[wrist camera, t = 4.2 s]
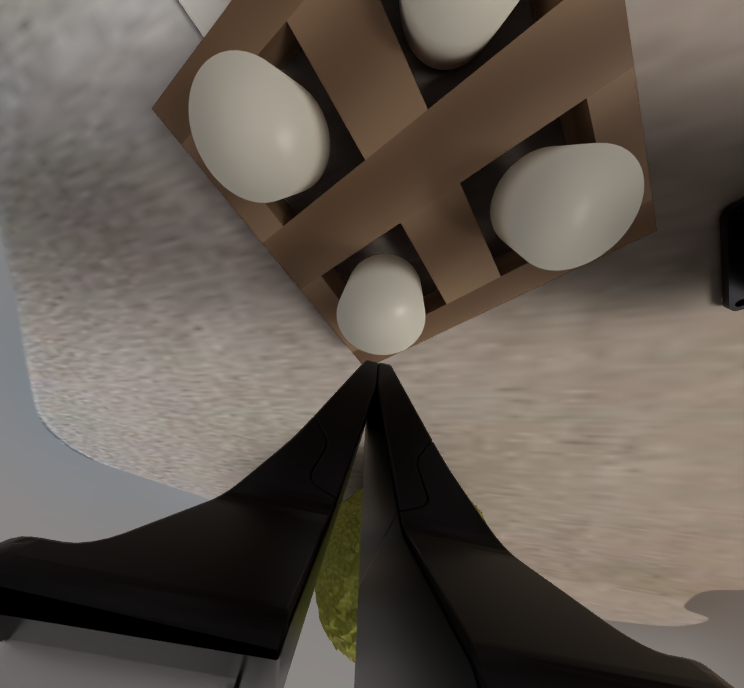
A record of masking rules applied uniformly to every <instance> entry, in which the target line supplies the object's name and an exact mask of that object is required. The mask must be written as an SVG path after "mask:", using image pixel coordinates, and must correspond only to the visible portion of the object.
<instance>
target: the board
mask: <svg viewBox="0 0 744 688" xmlns="http://www.w3.org/2000/svg"><path fill="white" fill-rule="evenodd" d="M530 3H531V7H532V11H533V15H534V19H535V23H534V24H533V25H532V26H531V27H529V28H528V29H527V30H526V31H524V32H523V33H522V34H521V35H520V36H518V37H517V38H516V39H515V40H513V41H512V42H511V43H510V44H508V45H507V46H506V47H505V48H503V49H502V50H501V51H500V52H498V53H497V54H496V55H495V56H494V57H492V58H491V59H490V60H489V61H487V62H486V63H485V64H484V65H482V66H481V67H480V68H479V69H477V70H476V71H475V72H474V73H472V74H471V75H470V76H469V77H468V78H466V79H465V80H464V81H463V82H461V83H460V84H459V85H458V86H456V87H455V88H454V89H453V90H451V91H450V92H449V93H448V94H446V95H445V96H444V97H443V98H441V99H440V100H439V101H438V102H437V103H435V104H434V105H433V106H432V107H430V108H429V109H427V106H426V104H425V102H424V100H423V97H422V95H421V93H420V90H419V88H418V86H417V84H416V81H415V79H414V77H413V74H412V72H411V70H410V68H409V65H408V63H407V61H406V58H405V56H404V54H403V52H402V49H401V47H400V45H399V42H398V40H397V38H396V36H395V33H394V31H393V29H392V26H391V24H390V22H389V20H388V17H387V15H386V13H385V10H384V8H383V6H382V4H381V1H380V0H231V2H230V3H229V5H228V6H227V7H226V9H225V10H224V11H223V13H222V14H221V15H220V17H219V18H218V19H217V21H216V22H215V23H214V25H213V26H212V28H211V29H210V30H209V32H208V33H207V34H206V36H205V37H204V38H203V40H202V41H201V42H200V44H199V45H198V46H197V48H196V49H195V51H194V52H193V53H192V55H191V56H190V57H189V59H188V60H187V61H186V63H185V64H184V65H183V67H182V68H181V69H180V71H179V72H178V74H177V75H176V76H175V78H174V79H173V80H172V82H171V83H170V84H169V86H168V87H167V88H166V90H165V91H164V92H163V94H162V95H161V97H160V98H159V99H158V101H157V102H156V103H155V105H154V106H153V107H152V110H153V111H154V112H155V113H156V114H157V116H158V117H159V118H160V119H161V120H162V122H163V123H164V124H165V125H166V127H167V128H168V129H169V130H170V131H171V133H172V134H173V135H174V136H175V137H176V139H177V140H178V141H179V142H180V144H181V145H182V146H183V147H184V148H185V150H186V151H187V152H188V153H189V155H190V156H191V157H192V158H193V159H194V161H195V162H196V163H197V164H198V165H199V167H200V168H201V169H202V170H203V172H204V173H205V174H206V175H207V176H208V178H209V179H210V180H211V181H212V182H213V184H214V185H215V186H216V187H217V189H218V190H219V191H220V192H221V193H222V195H223V196H224V197H225V198H226V200H227V201H228V202H229V203H230V204H231V206H232V207H233V208H234V209H235V210H236V212H237V213H238V214H239V215H240V217H241V218H242V219H243V220H244V221H245V223H246V224H247V225H248V226H249V227H250V229H251V230H252V231H253V232H254V234H255V235H256V236H257V237H258V238H259V240H260V241H261V242H262V243H263V245H264V246H265V247H266V248H267V249H268V251H269V252H270V253H271V254H272V255H273V257H274V258H275V259H276V260H277V262H278V263H279V264H280V265H281V266H282V268H283V269H284V270H285V271H286V272H287V274H288V275H289V276H290V277H291V279H292V280H293V281H294V282H295V283H296V285H297V286H298V287H299V288H300V290H301V291H302V292H303V293H304V294H305V296H306V297H307V298H308V299H309V300H310V302H311V303H312V304H313V305H314V307H315V308H316V309H317V310H318V311H319V313H320V314H321V315H322V316H323V317H324V319H325V320H326V321H327V322H328V324H329V325H330V326H331V327H332V328H333V330H334V331H335V332H336V333H337V334H338V336H339V337H340V338H341V339H342V341H343V342H344V343H345V344H346V345H347V347H348V348H349V349H350V350H351V352H352V353H353V354H354V355H355V356H356V358H357V359H358V360H359V361H360V362H361V364H363V363H364V362H365V361H366V360H371V361H375V362H377V363H378V362H380V361H382V360H384V359H386V358H389V357H391V356H393V355H395V354H397V353H394V354H389V355H375V354H370V353H367V352H364V351H361V350H360V349H358V348H356V347H355V346H353V345H352V344H351V343H349V342H348V341H347V339H346V338H345V337H344V336H343V334H342V333H341V331H340V329H339V326H338V322H337V315H336V314H337V306H338V303H339V300H340V298H341V296H342V293H343V291H344V289H345V287H346V283H345V282H344V280H343V279H342V278H341V276H340V275H339V274H338V272H337V271H336V269H335V268H334V267H335V266H336V265H338V264H339V263H341V262H342V261H344V260H345V259H347V258H348V257H350V256H351V255H353V254H354V253H356V252H357V251H359V250H360V249H362V248H363V247H365V246H366V245H368V244H369V243H371V242H372V241H374V240H375V239H377V238H378V237H380V236H381V235H383V234H384V233H386V232H387V231H389V230H390V229H392V228H393V227H395V226H396V225H398V224H399V223H401V224H402V226H403V228H404V230H405V231H406V233H407V235H408V237H409V238H410V240H411V242H412V244H413V245H414V247H415V249H416V251H417V253H418V254H419V256H420V258H421V260H422V261H423V263H424V265H425V267H426V269H427V270H428V272H429V274H430V276H431V277H432V279H433V281H434V283H435V284H436V286H437V288H438V290H436V291H434V292H432V293H430V294H429V295H427V296H425V297H423V301H424V308H425V325H424V328H423V331H422V333H421V335H420V336H419V338H418V339H417V340H416V341H415V342H414V343H413V344H412V345H411V346H410V347H412V346H414V345H416V344H418V343H420V342H422V341H424V340H427V339H429V338H431V337H433V336H435V335H437V334H439V333H441V332H443V331H446V330H448V329H450V328H452V327H454V326H456V325H458V324H460V323H462V322H465V321H467V320H469V319H471V318H473V317H475V316H477V315H479V314H481V313H484V312H486V311H488V310H490V309H492V308H494V307H496V306H498V305H501V304H503V303H505V302H507V301H509V300H511V299H513V298H515V297H517V296H520V295H522V294H524V293H526V292H528V291H530V290H532V289H534V288H536V287H539V286H541V285H543V284H545V283H547V282H549V281H551V280H553V279H555V278H558V277H560V276H562V275H564V274H566V273H568V272H570V271H572V270H574V269H577V268H579V267H581V266H579V267H576V268H572V269H567V270H559V271H554V270H545V269H541V268H538V267H536V266H534V265H532V264H530V263H529V262H528V261H526V260H525V259H524V258H523V257H521V256H520V255H519V254H518V253H517V252H515V251H514V250H513V249H512V250H510V251H509V252H507V253H505V254H503V255H501V256H499V257H497V258H496V259H494V260H493V257H492V255H491V253H490V251H489V248H488V246H487V244H486V241H485V239H484V237H483V235H482V232H481V230H480V228H479V225H478V223H477V221H476V219H475V216H474V214H473V212H472V209H471V207H470V205H469V203H468V200H467V198H466V196H465V193H464V191H463V189H462V187H461V184H460V182H462V181H463V180H465V179H466V178H468V177H469V176H471V175H472V174H474V173H475V172H477V171H478V170H480V169H481V168H483V167H484V166H486V165H487V164H489V163H490V162H492V161H493V160H495V159H496V158H498V157H499V156H501V155H502V154H504V153H505V152H507V151H508V150H510V149H511V148H513V147H514V146H516V145H517V144H519V143H520V142H522V141H523V140H525V139H526V138H528V137H529V136H531V135H532V134H534V133H535V132H537V131H538V130H540V129H541V128H543V127H544V126H546V125H547V124H549V123H550V122H552V121H553V120H555V119H556V118H558V117H560V120H561V124H562V128H563V132H564V136H565V140H566V144H567V145H575V144H589V143H609V144H615V145H618V146H621V147H623V148H625V149H626V150H628V151H629V152H630V153H632V154H633V155H634V156H635V158H636V159H637V160H638V162H639V164H640V166H641V168H642V171H643V176H644V194H643V199H642V203H641V206H640V208H639V211H638V213H637V215H636V217H635V219H634V221H633V223H632V224H631V226H630V227H629V229H628V230H627V231H626V233H625V234H624V235H623V236H622V238H621V239H620V240H619V241H618V242H617V243H616V244H615V245H614V246H613V247H611V248H610V249H609V250H608V251H606V252H605V253H604V254H602V255H601V256H599V257H598V258H600V257H602V256H604V255H606V254H608V253H610V252H613V251H615V250H617V249H619V248H621V247H623V246H625V245H627V244H629V243H632V242H634V241H636V240H638V239H640V238H642V237H644V236H646V235H648V234H651V233H653V232H655V231H657V227H656V220H655V213H654V205H653V198H652V191H651V184H650V177H649V170H648V163H647V156H646V148H645V141H644V134H643V127H642V120H641V113H640V106H639V99H638V91H637V84H636V77H635V70H634V63H633V56H632V49H631V41H630V34H629V27H628V20H627V13H626V6H625V0H530ZM301 48H302V49H303V51H304V52H305V54H306V56H307V58H308V59H309V61H310V63H311V65H312V67H313V68H314V70H315V72H316V74H317V75H318V77H319V79H320V81H321V83H322V84H323V86H324V88H325V90H326V91H327V93H328V95H329V97H330V98H331V100H332V102H333V104H334V106H335V107H336V109H337V111H338V113H339V114H340V116H341V118H342V120H343V121H344V123H345V125H346V127H347V129H348V130H349V132H350V134H351V136H352V137H353V139H354V141H355V143H356V145H357V146H358V148H359V150H360V152H361V153H362V155H363V157H364V159H365V161H363V162H362V163H361V164H360V165H359V166H357V167H356V168H355V169H354V170H352V171H351V172H350V173H349V174H347V175H346V176H345V177H344V178H342V179H341V180H340V181H339V182H337V183H336V184H335V185H334V186H332V187H331V188H330V189H329V190H328V191H326V192H325V193H324V194H323V195H321V196H320V197H319V198H318V199H316V200H315V201H314V202H313V203H311V204H310V205H309V206H308V207H306V208H305V209H304V210H303V211H302V212H300V213H299V214H298V215H297V216H296V215H295V213H294V212H293V211H292V209H291V208H290V206H289V205H288V204H287V202H286V201H285V200H284V198H283V199H280V200H277V201H274V202H268V203H258V202H252V201H249V200H245V199H243V198H241V197H239V196H237V195H235V194H234V193H232V192H230V191H229V190H228V189H226V188H225V187H224V186H223V185H222V184H221V183H220V182H219V181H218V180H217V179H216V178H215V177H214V176H213V175H212V173H211V172H210V171H209V169H208V168H207V167H206V165H205V163H204V162H203V160H202V158H201V156H200V154H199V152H198V150H197V147H196V145H195V142H194V139H193V136H192V132H191V128H190V122H189V111H188V110H189V96H190V90H191V87H192V83H193V81H194V78H195V76H196V74H197V72H198V71H199V69H200V68H201V66H202V65H203V64H204V63H205V62H206V61H207V60H208V59H210V58H211V57H212V56H214V55H216V54H218V53H221V52H225V51H229V50H239V51H245V52H249V53H252V54H255V55H257V56H259V57H261V58H263V59H265V60H266V61H267V62H269V63H270V64H272V65H273V66H274V67H276V68H277V69H279V70H280V71H281V70H282V69H283V68H284V67H285V66H286V65H287V63H288V62H289V61H290V60H291V59H292V58H293V57H294V56H295V55H296V54H297V52H298V51H299V50H300V49H301ZM598 258H596V259H598ZM596 259H594V260H596ZM594 260H593V261H594ZM584 265H585V264H584ZM582 266H583V265H582ZM410 347H408V348H410ZM408 348H407V349H408ZM398 353H399V352H398Z"/></svg>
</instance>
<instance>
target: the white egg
mask: <svg viewBox="0 0 744 688" xmlns="http://www.w3.org/2000/svg"><path fill="white" fill-rule="evenodd" d="M518 2H519V0H400V17H401V24H402V28H403V32H404V35H405V38H406V41H407V43H408V45H409V47H410V49H411V50H412V52H413V53H414V54H415V56H416V57H417V58H418V59H419V60H420V61H422V62H423V63H424V64H426V65H427V66H429V67H431V68H434V69H439V70H450V69H455V68H458V67H460V66H463V65H464V64H466V63H468V62H469V61H471V60H472V59H473V58H475V57H476V56H477V55H478V54H479V53H480V52H481V51H482V50H483V48H484V47H485V46H486V45H487V44H488V42H489V41H490V40H491V38H492V37H493V36H494V34H495V33H496V32H497V30H498V29H499V28H500V26H501V25H502V24H503V22H504V21H505V20H506V18H507V17H508V16H509V14H510V13H511V12H512V10H513V9H514V7H515V6H516V5H517V3H518Z"/></svg>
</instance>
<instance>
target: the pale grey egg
mask: <svg viewBox="0 0 744 688" xmlns="http://www.w3.org/2000/svg"><path fill="white" fill-rule="evenodd" d="M643 194H644V176H643V171H642V168H641V166H640V164H639V162H638V160H637V159H636V158H635V156H634V155H633V154H632V153H630V152H629V151H628V150H626V149H625V148H623V147H621V146H618V145H615V144H609V143H589V144H575V145H562V146H549V147H543V148H540V149H537V150H534V151H532V152H530V153H528V154H526V155H524V156H523V157H521V158H520V159H519V160H517V161H516V162H515V163H514V164H513V165H512V166H511V167H510V168H509V169H508V170H507V171H506V172H505V173H504V175H503V176H502V178H501V179H500V181H499V182H498V184H497V186H496V188H495V191H494V193H493V196H492V200H491V205H490V218H491V223H492V226H493V229H494V231H495V233H496V234H497V236H498V237H499V238H500V239H501V240H502V241H503V242H505V243H506V244H507V245H508V246H509V247H511V248H512V249H513V250H514V251H515V252H517V253H518V254H519V255H520V256H521V257H523V258H524V259H525V260H526V261H528V262H529V263H530V264H532V265H534V266H536V267H538V268H541V269H545V270H554V271H559V270H567V269H572V268H576V267H579V266H582V265H584V264H587V263H589V262H591V261H593V260H594V259H596V258H598V257H599V256H601V255H602V254H604V253H605V252H606V251H608V250H609V249H610V248H611V247H613V246H614V245H615V244H616V243H617V242H618V241H619V240H620V239H621V238H622V236H623V235H624V234H625V233H626V231H627V230H628V229H629V227H630V226H631V224H632V223H633V221H634V219H635V217H636V215H637V213H638V211H639V208H640V206H641V203H642V199H643Z"/></svg>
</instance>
